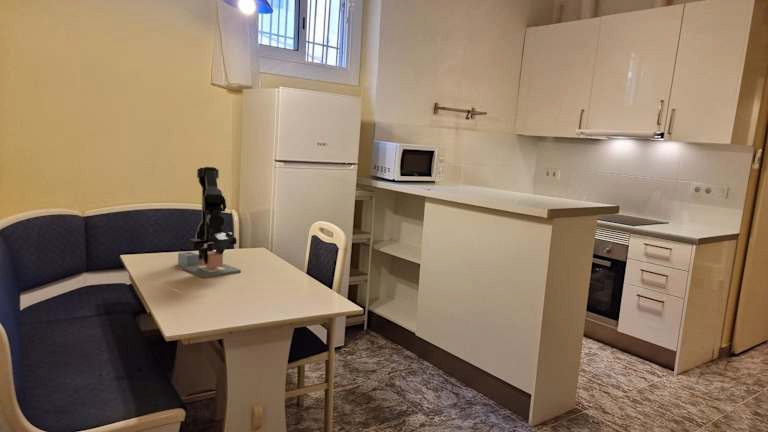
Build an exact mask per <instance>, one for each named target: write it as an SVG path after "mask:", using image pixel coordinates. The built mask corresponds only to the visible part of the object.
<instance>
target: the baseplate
mask: <svg viewBox="0 0 768 432" xmlns="http://www.w3.org/2000/svg"><path fill="white" fill-rule="evenodd" d="M182 270H184V271H185V272H188V273H190V274H193V275H195V276H197V277H201V278H203V279H208V278H214V277H220V276H226V275H231V274H232V275H233V274H238V273H239V274H240V273H241V271H242V270H241V269H240V268H237V267H234V266H231V265H229V264H226V263H223V266H222V267H216V268H209V267H207V266H204V265H202V263H201V264H198V265H194V266H186V267H183V266H182Z"/></svg>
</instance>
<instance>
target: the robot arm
mask: <svg viewBox="0 0 768 432" xmlns="http://www.w3.org/2000/svg"><path fill="white" fill-rule="evenodd" d="M219 173H220V172H219V169H218V168H217V167H214V166H204V167H200V168H197V169H196V178H197V179H198V180H197V181H198V183H199V185H200V187H201V188H202V189H201V222H200V223H199V225H198V226H197V230H196V231H195V238H191V239H188V241H187V242H186V247H188V248H191V249H194V250H198V255H199V256H198V259H200V260H202V258H203V260H204V262H205V264H207V261H208V252H210V251H214V246H215V252H218V253H220V254H223V255H224V252H225V250H226V249H227V248H229V247H230V246H232V245H237V244H238V243H237V242H238V240H237V237H235V236H233V233H232V231H231V232H229V231H228V232H224V230H223V226H224V224H225V219H224V217H223V216H222V212H224V213H225V212H226V210H227V202H226V198H225V196H224V195H223V192H222V190H221V189H220V188H218V179H219V175H220V174H219ZM213 245H214V246H213Z"/></svg>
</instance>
